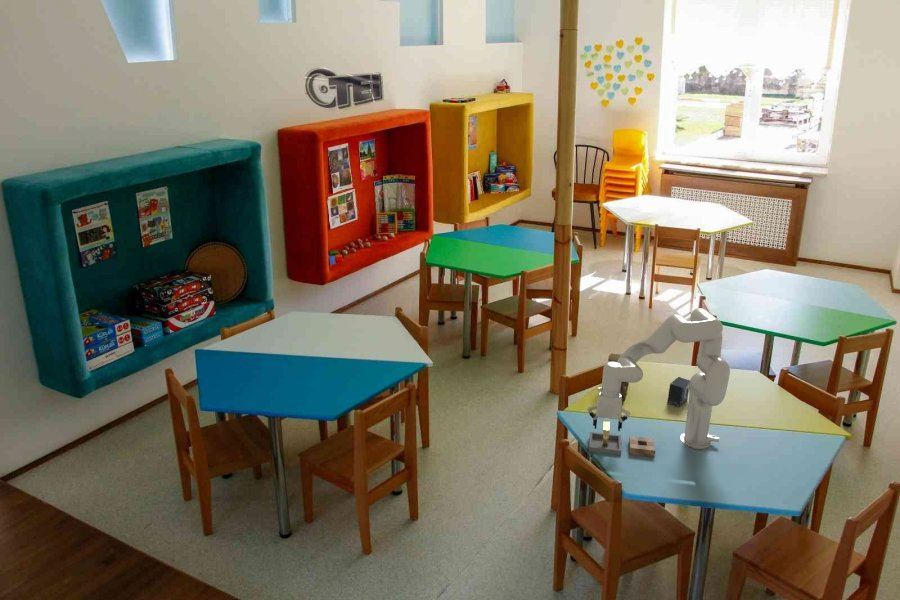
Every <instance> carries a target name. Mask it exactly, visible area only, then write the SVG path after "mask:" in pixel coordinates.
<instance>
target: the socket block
mask: <svg viewBox="0 0 900 600" xmlns="http://www.w3.org/2000/svg"><path fill="white" fill-rule="evenodd" d="M628 447H629V455H633V456H642V457H651V458H655V456H656V444H655V438H651V437H644V436H643V437H642V436H633V435H629V439H628Z"/></svg>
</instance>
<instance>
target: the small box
mask: <svg viewBox="0 0 900 600" xmlns="http://www.w3.org/2000/svg"><path fill="white" fill-rule="evenodd" d="M689 382H690V379H686V378H683V377H680V376H678V377H676V378H674V380H673V381H672V382H671V383H669V389H668V396H667V402H666V403H667V404H668V405H671V406H675V407H677V408H679V407H682V405H683V404H685V402H687V401H688V400H689Z"/></svg>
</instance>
